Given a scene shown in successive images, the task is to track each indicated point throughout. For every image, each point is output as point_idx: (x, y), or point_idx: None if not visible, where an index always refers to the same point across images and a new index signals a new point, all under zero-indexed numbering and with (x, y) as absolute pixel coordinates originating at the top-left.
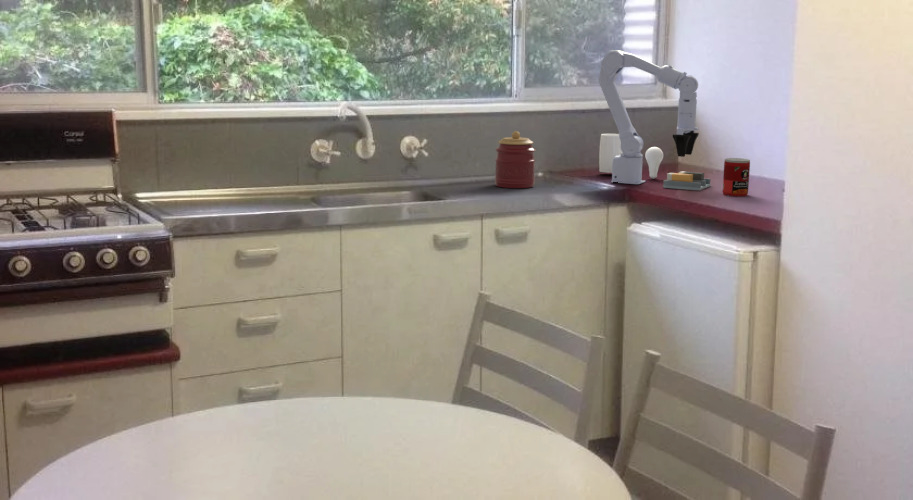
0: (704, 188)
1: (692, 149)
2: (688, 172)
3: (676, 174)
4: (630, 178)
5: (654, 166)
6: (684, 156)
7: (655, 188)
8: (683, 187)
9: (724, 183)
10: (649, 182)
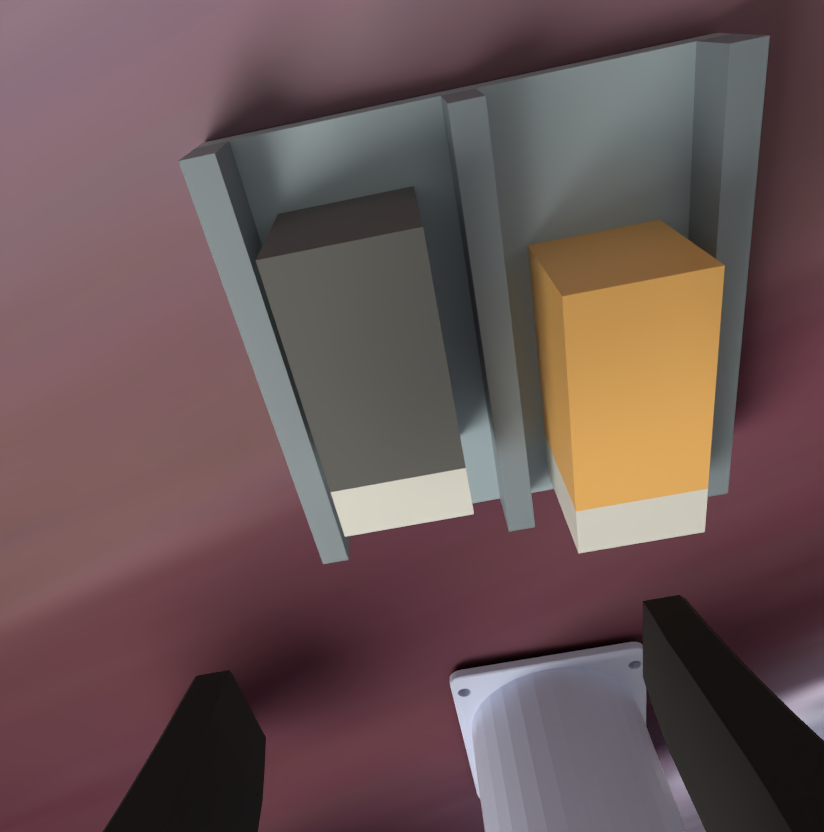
0: (484, 82)
1: (172, 759)
2: (398, 434)
3: (710, 439)
4: (643, 722)
5: None
6: (655, 600)
7: (780, 468)
8: None
9: None
10: (423, 653)
